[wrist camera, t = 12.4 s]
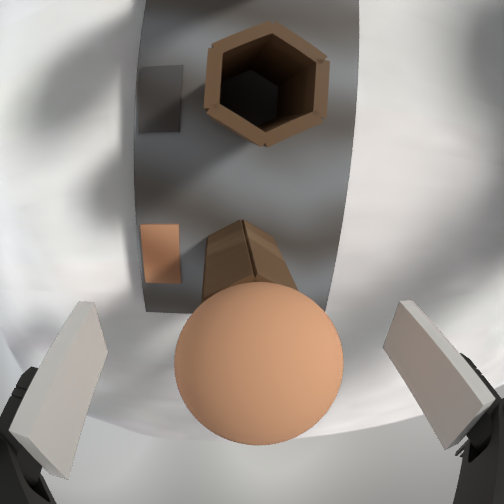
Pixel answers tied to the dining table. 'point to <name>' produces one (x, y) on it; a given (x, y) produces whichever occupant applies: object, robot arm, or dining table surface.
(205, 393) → the ball terracotta
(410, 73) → the dining table surface
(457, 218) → the dining table surface
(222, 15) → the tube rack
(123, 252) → the dining table surface
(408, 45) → the dining table surface
